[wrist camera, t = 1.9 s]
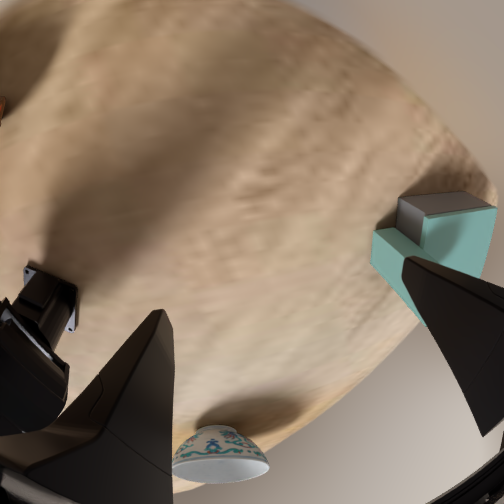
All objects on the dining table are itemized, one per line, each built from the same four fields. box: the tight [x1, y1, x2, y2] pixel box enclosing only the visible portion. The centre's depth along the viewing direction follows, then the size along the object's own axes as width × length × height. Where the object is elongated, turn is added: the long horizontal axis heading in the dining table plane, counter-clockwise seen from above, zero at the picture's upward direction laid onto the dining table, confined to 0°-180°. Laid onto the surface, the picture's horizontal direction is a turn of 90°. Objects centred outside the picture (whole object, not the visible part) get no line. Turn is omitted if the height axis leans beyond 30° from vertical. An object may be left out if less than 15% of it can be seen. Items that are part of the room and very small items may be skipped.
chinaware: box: [172, 425, 270, 483], centre depth 35 cm, size 15×15×8 cm
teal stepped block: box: [370, 206, 497, 327], centre depth 21 cm, size 14×9×10 cm, turn 97°
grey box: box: [396, 191, 491, 246], centre depth 24 cm, size 10×9×4 cm
